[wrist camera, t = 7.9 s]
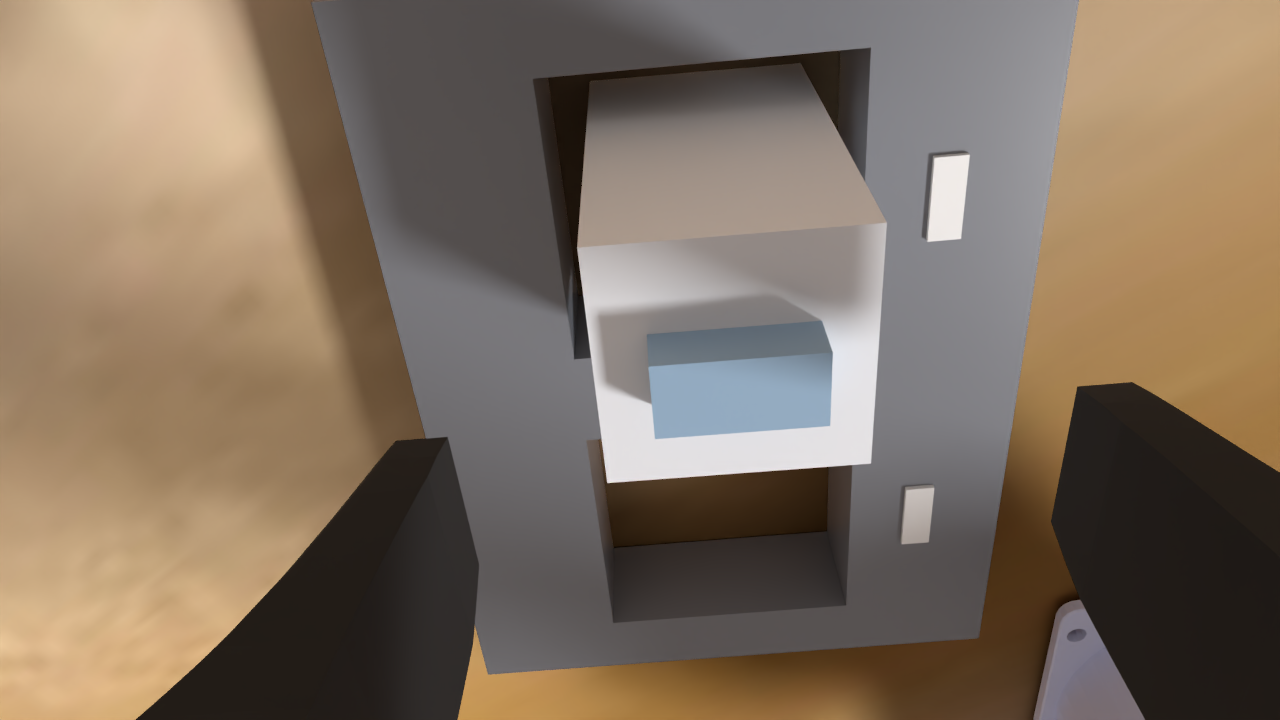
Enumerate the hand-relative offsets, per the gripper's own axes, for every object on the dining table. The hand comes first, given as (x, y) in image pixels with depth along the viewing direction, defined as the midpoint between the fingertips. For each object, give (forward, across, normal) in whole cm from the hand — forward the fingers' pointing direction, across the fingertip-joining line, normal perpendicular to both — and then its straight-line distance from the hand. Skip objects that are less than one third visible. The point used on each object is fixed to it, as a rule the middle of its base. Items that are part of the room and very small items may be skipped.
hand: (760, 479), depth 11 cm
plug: (+10, 0, 0) cm, 10 cm away
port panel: (+10, 0, +4) cm, 10 cm away
